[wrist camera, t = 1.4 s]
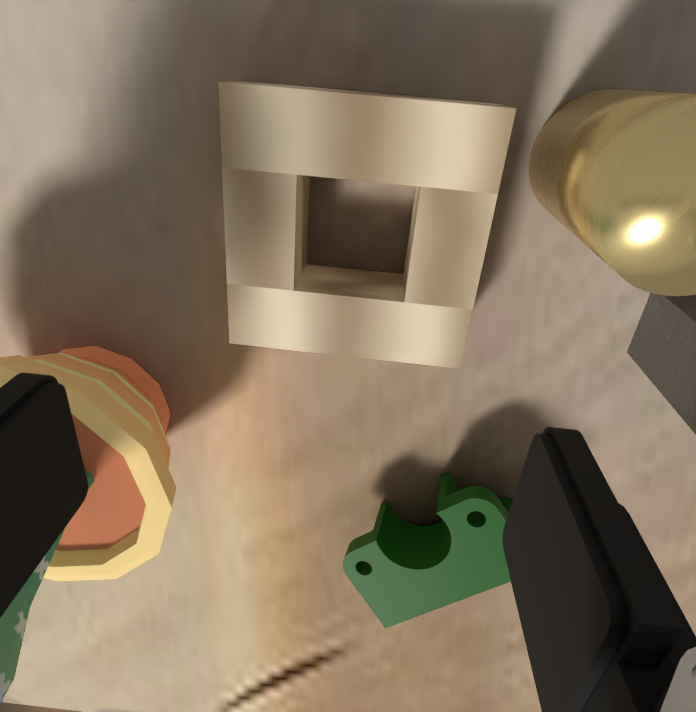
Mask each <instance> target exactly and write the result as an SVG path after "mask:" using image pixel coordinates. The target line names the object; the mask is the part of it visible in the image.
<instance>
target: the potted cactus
mask: <svg viewBox="0 0 696 712" xmlns="http://www.w3.org/2000/svg"><path fill="white" fill-rule="evenodd" d="M19 373H33V374H43V375H51V376H54V377H55V378H56V379H57V381H58V383H60V384H62V385H63V386H64V387H65V390H66V393H67V397H68V401H69V406H70V410H71V414H72V418H73V422H74V426H75V431H76V435H77V439H78V443H79V447H80V451H81V456H82V460H83V464H84V468H85V472H86V476H87V481H88V492H87V496H86V498H85V500H84V502H83V503H82V505H81V506H80V508H79V509H78V510H77V512H76V513H75V515H74V516H73V517H72V519H71V520H70V522H69V523H68V524H67V526H66V527H65V528H64V530H63V531H62V533H61V534H60V535H59V537H58V538H57V540H56V541H55V542H54V544H53V545H52V547H51V548H50V549H49V551H48V552H47V554H46V555H45V556H44V558H43V559H42V561H41V562H40V563H39V565H38V566H37V568H36V569H35V570H34V572H33V573H32V575H31V576H30V577H29V579H28V580H27V582H26V583H25V584H24V586H23V587H22V589H21V590H20V591H19V593H18V594H17V596H16V597H15V598H14V600H13V601H12V603H11V604H10V605H9V607H8V608H7V609H6V611H5V612H4V614H3V615H2V616H1V618H0V702H3V697H4V696H5V694H6V692H7V690H8V689H9V687H10V685H11V683H12V681H13V680H14V676H15V672H16V667H17V663H18V658H19V654H20V649H21V645H22V640H23V636H24V631H25V627H26V622H27V618H28V613H29V609H30V605H31V603H32V601H33V599H34V596H35V594H36V592H37V590H38V588H39V585H40V583H41V581H42V579H43V577H44V578H47V579H51V580H54V581H77V580H106V579H117V578H119V577H120V576H122V575H124V574H125V573H127V572H129V571H131V570H132V569H134V568H136V567H137V566H139V565H141V564H142V563H144V562H146V561H147V560H149V559H151V558H152V557H154V556H156V555H158V554H159V550H160V547H161V543H162V540H163V536H164V533H165V529H166V526H167V522H168V519H169V515H170V512H171V508H172V504H173V500H174V495H175V491H176V486H175V483H174V481H173V478H172V476H171V474H170V471H169V458H170V446H169V443H168V440H167V438H166V431H167V427H168V423H169V419H170V415H171V412H170V410H169V407H168V405H167V402H166V400H165V397H164V394H163V392H162V389H161V387H160V384H159V383H158V382H157V381H156V380H154V379H153V378H152V377H151V376H150V375H149V374H148V373H147V372H146V371H145V370H144V369H142V368H141V367H140V366H139V365H138V364H137V363H136V362H135V361H134V360H133V359H131V358H129V357H126V356H123V355H120V354H117V353H115V352H112V351H109V350H106V349H103V348H101V347H98V346H88V347H79V348H70V349H62V350H61V351H60V352H59V353H57V354H48V355H38V356H29V357H22V356H19V355H17V356H8V357H0V388H1V387H2V386H3V385H4V384H6V383H7V382H8V381H9V380H11V379H12V378H13V377H14V376H16V375H17V374H19Z"/></svg>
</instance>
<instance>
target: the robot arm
mask: <svg viewBox="0 0 696 712" xmlns="http://www.w3.org/2000/svg"><path fill="white" fill-rule="evenodd" d="M87 492H88V481H87V476H86V472H85V468H84V464H83V460H82V456H81V451H80V447H79V443H78V439H77V435H76V431H75V426H74V422H73V418H72V414H71V410H70V406H69V401H68V397H67V393H66V390H65V387H64V386H63V385H62V384H60V383H58V381H57V379H56V378H55V377H54V376H51V375H43V374H33V373H19V374H17V375H16V376H14V377H13V378H12V379H11V380H9V381H8V382H7V383H6V384H4V385H3V386H2V387H1V388H0V618H1V616H2V615H3V614H4V612H5V611H6V609H7V608H8V607H9V605H10V604H11V603H12V601H13V600H14V598H15V597H16V596H17V594H18V593H19V591H20V590H21V589H22V587H23V586H24V584H25V583H26V582H27V580H28V579H29V577H30V576H31V575H32V573H33V572H34V570H35V569H36V568H37V566H38V565H39V563H40V562H41V561H42V559H43V558H44V556H45V555H46V554H47V552H48V551H49V549H50V548H51V547H52V545H53V544H54V542H55V541H56V540H57V538H58V537H59V535H60V534H61V533H62V531H63V530H64V528H65V527H66V526H67V524H68V523H69V522H70V520H71V519H72V517H73V516H74V515H75V513H76V512H77V510H78V509H79V508H80V506H81V505H82V503H83V502H84V500H85V498H86V496H87ZM502 542H503V549H504V554H505V558H506V562H507V566H508V570H509V575H510V579H511V583H512V587H513V592H514V596H515V600H516V604H517V608H518V613H519V617H520V621H521V625H522V629H523V634H524V638H525V642H526V646H527V650H528V655H529V659H530V663H531V667H532V671H533V676H534V680H535V684H536V688H537V693H538V697H539V701H540V705H541V709H542V712H696V636H695V634H694V633H693V631H692V629H691V627H690V625H689V623H688V622H687V620H686V618H685V616H684V614H683V612H682V610H681V609H680V607H679V605H678V603H677V601H676V599H675V598H674V596H673V594H672V592H671V590H670V588H669V587H668V585H667V583H666V581H665V579H664V577H663V575H662V574H661V572H660V570H659V568H658V566H657V564H656V563H655V561H654V559H653V557H652V555H651V553H650V551H649V550H648V548H647V546H646V544H645V542H644V540H643V539H642V537H641V535H640V533H639V531H638V529H637V527H636V526H635V524H634V522H633V520H632V518H631V516H630V515H629V513H628V512H627V510H626V509H625V507H623V506H622V505H620V504H619V503H618V502H617V500H616V498H615V496H614V494H613V492H612V491H611V489H610V487H609V485H608V483H607V481H606V479H605V477H604V476H603V474H602V472H601V470H600V468H599V466H598V464H597V462H596V460H595V459H594V457H593V455H592V453H591V451H590V449H589V447H588V445H587V443H586V442H585V440H584V438H583V436H582V434H581V433H580V432H579V431H578V430H572V429H562V428H553V427H548V428H546V429H545V430H544V431H543V434H538V433H537V434H535V435H534V437H533V439H532V442H531V445H530V448H529V452H528V455H527V458H526V461H525V464H524V467H523V470H522V473H521V476H520V479H519V483H518V486H517V489H516V492H515V495H514V498H513V501H512V504H511V507H510V510H509V513H508V517H507V520H506V523H505V526H504V529H503V537H502ZM0 712H80V711H72V710H63V709H55V708H46V707H38V706H29V705H19V704H12V703H3V702H0Z"/></svg>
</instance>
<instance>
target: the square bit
mask: <svg viewBox="0 0 696 712" xmlns="http://www.w3.org/2000/svg"><path fill="white" fill-rule="evenodd" d="M627 353H628V354H629V355H630V356H631V358H632V359H633V360H634V361H635V362H636V364H637V365H638V366H639V367H640V368H641V370H642V371H643V372H644V373H645V374H646V376H647V377H648V378H649V379H650V380H651V382H652V383H653V384H654V385H655V386H656V387H657V389H658V390H659V391H660V392H661V393H662V395H663V396H664V397H665V398H666V399H667V401H668V402H669V403H670V404H671V405H672V407H673V408H674V409H675V410H676V411H677V413H678V414H679V415H680V416H681V417H682V419H683V420H684V421H685V422H686V423H687V425H688V426H689V427H690V428H691V429H692V431H693V432H694V433H695V434H696V295H689V296H665V295H659V294H654V293H650V296H649V298H648V301H647V304H646V306H645V309H644V311H643V314H642V316H641V319H640V321H639V324H638V326H637V329H636V331H635V334H634V336H633V339H632V341H631V344H630V346H629V349H628V351H627Z"/></svg>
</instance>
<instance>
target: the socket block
mask: <svg viewBox="0 0 696 712" xmlns="http://www.w3.org/2000/svg"><path fill="white" fill-rule="evenodd" d="M218 90H219V113H220V137H221V160H222V184H223V208H224V231H225V255H226V278H227V302H228V326H229V343H231V344H241V345H250V346H259V347H268V348H277V349H286V350H295V351H304V352H314V353H323V354H332V355H341V356H350V357H359V358H368V359H377V360H387V361H396V362H405V363H414V364H423V365H432V366H441V367H450V368H460V367H461V363H462V358H463V353H464V349H465V344H466V340H467V335H468V330H469V326H470V321H471V317H472V312H473V307H474V303H475V298H476V293H477V289H478V284H479V280H480V275H481V270H482V266H483V261H484V256H485V252H486V247H487V243H488V238H489V233H490V229H491V224H492V219H493V215H494V210H495V206H496V201H497V196H498V192H499V187H500V182H501V178H502V173H503V169H504V164H505V159H506V155H507V150H508V146H509V141H510V136H511V132H512V127H513V122H514V118H515V113H516V108H513V107H509V106H505V105H501V104H494V103H483V102H472V101H461V100H450V99H439V98H428V97H417V96H406V95H394V94H383V93H372V92H361V91H350V90H339V89H328V88H317V87H306V86H295V85H283V84H272V83H261V82H250V81H223V82H218ZM310 176H316V177H326V178H337V179H347V180H357V181H368V182H378V183H388V184H399V185H409V186H416V187H415V194H414V202H413V209H412V216H411V223H410V231H409V238H408V245H407V252H406V260H405V267H404V274H397V273H388V272H378V271H368V270H358V269H349V268H339V267H329V266H320V265H310V264H306V263H307V238H308V212H309V186H310Z"/></svg>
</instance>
